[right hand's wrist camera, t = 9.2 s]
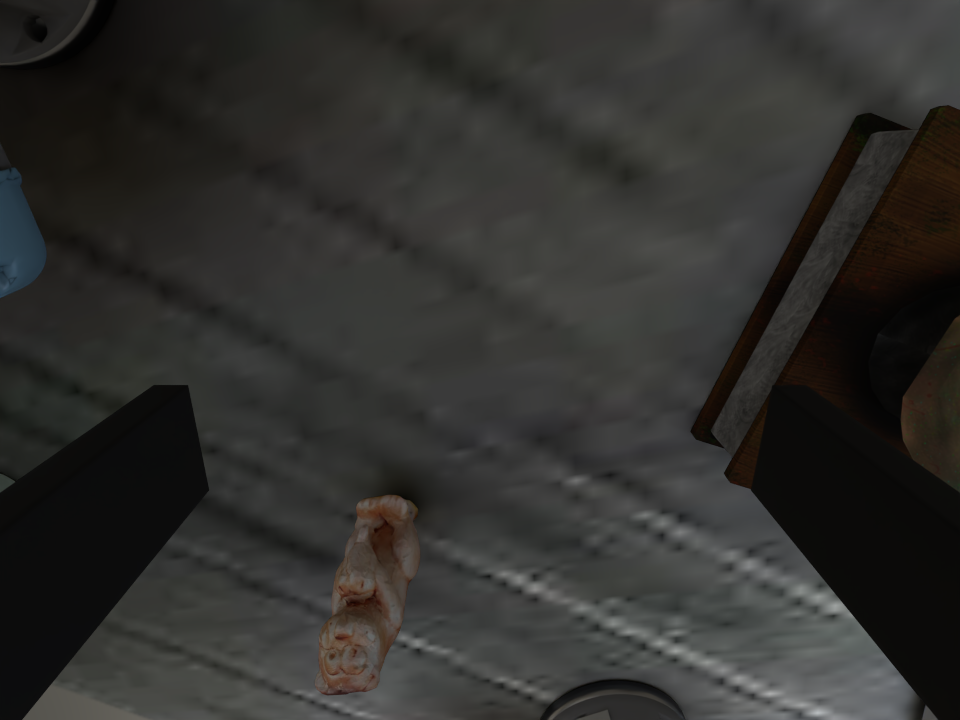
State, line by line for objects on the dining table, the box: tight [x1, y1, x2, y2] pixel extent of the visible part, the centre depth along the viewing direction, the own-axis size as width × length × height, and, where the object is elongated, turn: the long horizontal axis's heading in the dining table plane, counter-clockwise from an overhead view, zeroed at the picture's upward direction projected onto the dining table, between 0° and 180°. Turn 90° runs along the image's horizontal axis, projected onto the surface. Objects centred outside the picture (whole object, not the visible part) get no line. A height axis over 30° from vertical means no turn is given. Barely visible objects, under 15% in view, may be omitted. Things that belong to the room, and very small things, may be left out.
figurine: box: [315, 495, 420, 695], centre depth 39 cm, size 6×8×15 cm
